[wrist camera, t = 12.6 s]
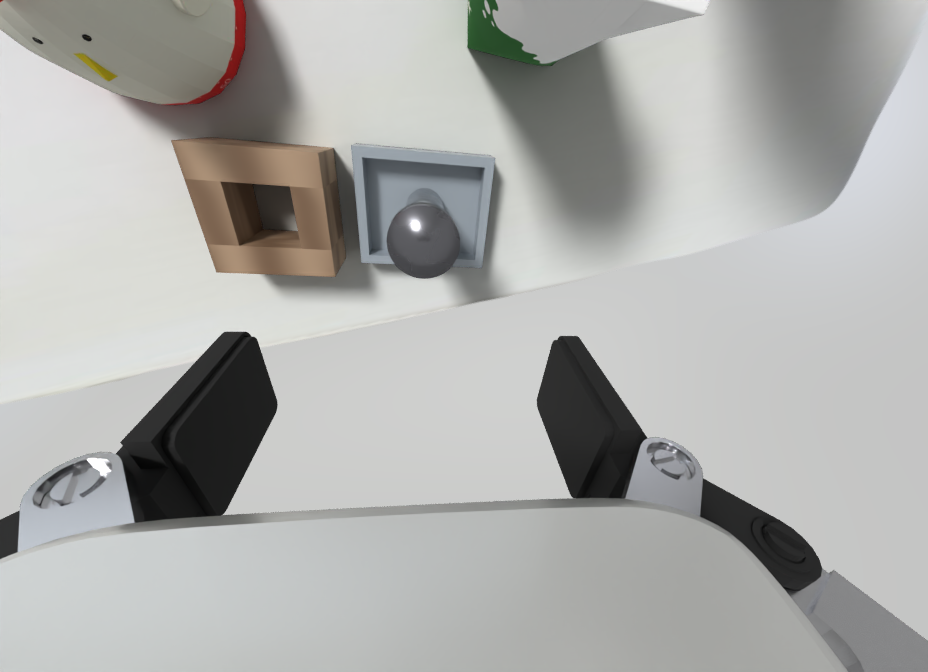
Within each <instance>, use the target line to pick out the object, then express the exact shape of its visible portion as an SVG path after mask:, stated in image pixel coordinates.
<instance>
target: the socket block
mask: <svg viewBox="0 0 928 672" xmlns="http://www.w3.org/2000/svg"><path fill="white" fill-rule="evenodd" d="M171 142H172V144H173V147H174V150H175V153H176V156H177V159H178V162H179V165H180V168H181V171H182V173H183V176H184V179H185V182H186V185H187V188H188V191H189V194H190V197H191V200H192V202H193V205H194V208H195V211H196V214H197V217H198V220H199V223H200V226H201V229H202V231H203V234H204V237H205V240H206V243H207V246H208V249H209V252H210V255H211V258H212V260H213V263H214V266H215V269H216V272H221V273H247V274H274V275H300V276H326V277H335V276H336V274H337V273H338V271H339V269H340V267H341V266H342V264H343V262H344V260H345V259H346V253H345V245H344V236H343V227H342V218H341V210H340V201H339V192H338V184H337V175H336V166H335V157H334V149H333V148H328V147H317V146H305V145H293V144H282V143H270V142H259V141H247V140H235V139H224V138H212V137H206V138H195V139H183V140H172V141H171ZM252 184H264V185H278V186H290V191H291V196H292V202H293V207H294V212H295V218H296V223H297V228H298V231H285V230H267V229H263V226H262V222H261V218H260V214H259V210H258V206H257V202H256V198H255V194H254V189H253V185H252Z"/></svg>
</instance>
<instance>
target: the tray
mask: <svg viewBox="0 0 928 672" xmlns="http://www.w3.org/2000/svg"><path fill="white" fill-rule="evenodd" d="M351 150H352V161H353V173H354V184H355V195H356V206H357V218H358V229H359V240H360V251H361V263H380V264H394V262H393V261H392V259H391V257H390V255H389V253H388V249H387V232H388V229H389V226H390V223H391V221H392V219H393V218H394V216H395V215H396V214H397V213H398V211H400V210H401V209H402V208H404V207H405V206H406V203H407V199H408V197H409V196H410V194H411V193H412V192H414V191H415V190H417V189H420V188H428V189H431V190H433V191H435V192H436V193H437V194H438V195H439V196H440V198H441V200H442V202H443V206H444V210H445V211H447V212H448V213H449V214H450V216H451V217H452V218H453V220H454V222H455V224H456V226H457V229H458V233H459V237H460V251H459V254H458V257H457V259H456V261H455V263H454V264H453V265H452V267H471V268H482V264H483V255H484V247H485V239H486V230H487V222H488V214H489V205H490V197H491V189H492V180H493V172H494V164H495V158H494V157H492V156H491V155H481V154H469V153H458V152H447V151H435V150H424V149H413V148H402V147H390V146H379V145H368V144H357V143H356V144H354V145H351Z"/></svg>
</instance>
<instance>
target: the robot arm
mask: <svg viewBox="0 0 928 672" xmlns="http://www.w3.org/2000/svg"><path fill="white" fill-rule="evenodd" d="M537 407H538V410H539V413H540V416H541V418H542V421H543V423H544V426H545V429H546V431H547V434H548V437H549V439H550V442H551V444H552V447H553V450H554V453H555V455H556V458H557V460H558V463H559V466H560V468H561V471H562V474H563V476H564V479H565V481H566V484H567V487H568V490H569V492H570V494H571V496H572V497H573V498H576V499H540V500H517V501H494V502H471V503H449V504H428V505H409V506H389V507H388V506H387V507H368V508H347V509H328V510H309V511H292V512H275V513H274V512H273V513H254V514H237V515H223V514H224V513H225V511H226V509H227V508H228V506H229V504H230V502H231V500H232V498H233V496H234V494H235V492H236V490H237V488H238V486H239V484H240V482H241V480H242V478H243V476H244V474H245V472H246V470H247V468H248V467H249V465H250V462H251V461H252V458H253V457H254V455H255V453H256V451H257V449H258V447H259V445H260V443H261V441H262V439H263V437H264V435H265V433H266V431H267V429H268V427H269V425H270V423H271V421H272V419H273V417H274V415H275V413H276V410H277V399H276V396H275V393H274V390H273V387H272V384H271V381H270V378H269V375H268V372H267V369H266V365H265V363H264V360H263V356H262V353H261V350H260V347H259V344H258V341H257V339H256V338H255V337H251V335H250V334H249V333H247V332H224V333H223V334H221V336H220V337H219V338H218V339H217V340H216V341H215V342H214V343H213V344H212V345H211V346H210V347H209V348H208V349H207V350H206V352H205V353H204V354H203V355H202V356H201V357H200V358H199V359H198V360H197V361H196V362H195V363H194V364H193V365H192V366H191V368H190V369H189V370H188V371H187V372H186V373H185V374H184V375H183V376H182V377H181V378H180V379H179V380H178V381H177V383H176V384H175V385H174V386H173V387H172V388H171V389H170V390H169V391H168V392H167V393H166V394H165V395H164V396H163V397H162V399H161V400H160V401H159V402H158V403H157V404H156V405H155V406H154V407H153V408H152V409H151V410H150V411H149V412H148V414H147V415H146V416H145V417H144V418H143V419H142V420H141V421H140V422H139V423H138V424H137V425H136V426H135V427H134V428H133V430H132V431H131V432H130V433H129V434H128V435H127V436H126V437H125V438H124V439H123V440H122V441H121V444H122V445H123V446H122V448H121V449H120V450H119V451H118V452H117V453H116V454H113V453H111V452H97V453H92V454H87V455H83V456H80V457H77V458H74V459H72V460H70V461H67V462H65V463H63V464H61V465H59V466H57V467H56V468H54V469H52V470H51V471H49V472H48V473H46V474H45V475H43V476H42V477H41V478H40V479H38V480H37V481H36V482H35V483H34V484H33V485H31V487H30V488H29V489H28V491H27V492H26V493H25V494H24V496H23V498H22V501H21V504H20V511H18V512H16V513H13V514H11V515H9V516H7V517H5V518H3V519H1V520H0V672H928V641H927V640H926V639H925V638H923V637H922V636H921V635H919V634H918V633H917V632H915V631H914V630H913V629H911V628H910V627H909V626H907V625H906V624H905V623H903V622H902V621H901V620H899V619H898V618H897V617H895V616H894V615H893V614H891V613H890V612H889V611H887V610H886V609H885V608H883V607H882V606H881V605H880V604H878V603H877V602H876V601H874V600H873V599H872V598H870V597H869V596H868V595H866V594H865V593H864V592H862V591H861V590H860V589H858V588H857V587H855V586H854V585H853V584H851V583H850V582H849V581H848V580H846V579H845V578H844V577H842V576H841V575H840V574H838V573H837V572H836V571H834V570H833V571H832V572H830V573H827V572H826V571H825V570H823V569H822V567H821V563H820V560H819V558H818V556H817V555H816V553H815V552H814V550H813V548H812V547H811V546H810V545H809V544H808V543H807V542H806V540H805V539H804V538H803V537H802V536H801V535H799V534H798V533H797V532H796V531H795V530H794V529H792V528H791V527H789V526H788V525H786V524H785V523H783V522H782V521H780V520H778V519H776V518H775V517H773V516H771V515H769V514H767V513H765V512H763V511H762V510H760V509H758V508H756V507H754V506H752V505H751V504H749V503H747V502H745V501H743V500H742V499H740V498H738V497H736V496H734V495H732V494H731V493H729V492H726V491H725V490H723V489H721V488H720V487H718V486H716V485H714V484H712V483H710V482H709V481H707V480H705V479H703V472H702V468H701V466H700V464H699V462H698V461H697V459H696V458H695V457H694V456H693V455H692V454H691V453H690V452H689V451H688V450H686V449H685V448H684V447H682V446H681V445H679V444H677V443H675V442H673V441H671V440H668V439H665V438H659V437H652V438H647V437H646V435H645V434H644V432H643V431H642V429H641V428H640V426H639V425H638V423H637V422H636V420H635V419H634V417H633V416H632V414H631V413H630V411H629V410H628V409H627V407H626V406H625V404H624V403H623V401H622V400H621V398H620V397H619V395H618V394H617V392H616V391H615V390H614V388H613V387H612V385H611V384H610V382H609V381H608V379H607V378H606V376H605V375H604V373H603V372H602V371H601V369H600V368H599V366H598V365H597V363H596V362H595V360H594V359H593V357H592V356H591V354H590V353H589V351H588V350H587V349H586V347H585V346H584V344H583V343H582V341H581V340H580V338H579V337H577V336H560V337H559V338H558V340H554V341H553V343H552V346H551V350H550V354H549V357H548V361H547V365H546V368H545V372H544V375H543V379H542V383H541V387H540V390H539V394H538V397H537Z"/></svg>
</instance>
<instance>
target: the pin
mask: <svg viewBox="0 0 928 672" xmlns="http://www.w3.org/2000/svg"><path fill="white" fill-rule="evenodd" d="M387 249H388V253H389V255H390V257H391V259H392V261H393V262H394V264H395V265H396V266H397V267H398V268H399V269H400V270H401V271H403V272H404V273H406V274H408V275H410V276H413V277H416V278H433V277H437V276H439V275H441V274H443V273H445V272H446V271H447V270H449V269H450V268H451V267H452V265H453V264H454V263H455V261H456V259H457V257H458V254H459V251H460V237H459V233H458V229H457V226H456V224H455V222H454V220H453V218H452V217H451V216H450V214H449V213H448V212H447V211H445V210H444V206H443V202H442V200H441V198H440V196H439V195H438V194H437V193H436V192H435V191H433V190H431V189H428V188H420V189H417V190H415V191H414V192H412V193H411V194H410V196H409V197H408V199H407V203H406V206H405V207H404V208H402V209H401V210H400V211H398V213H397V214H396V215H395V216H394V218H393V219H392V221H391V223H390V226H389V229H388V232H387Z"/></svg>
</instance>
